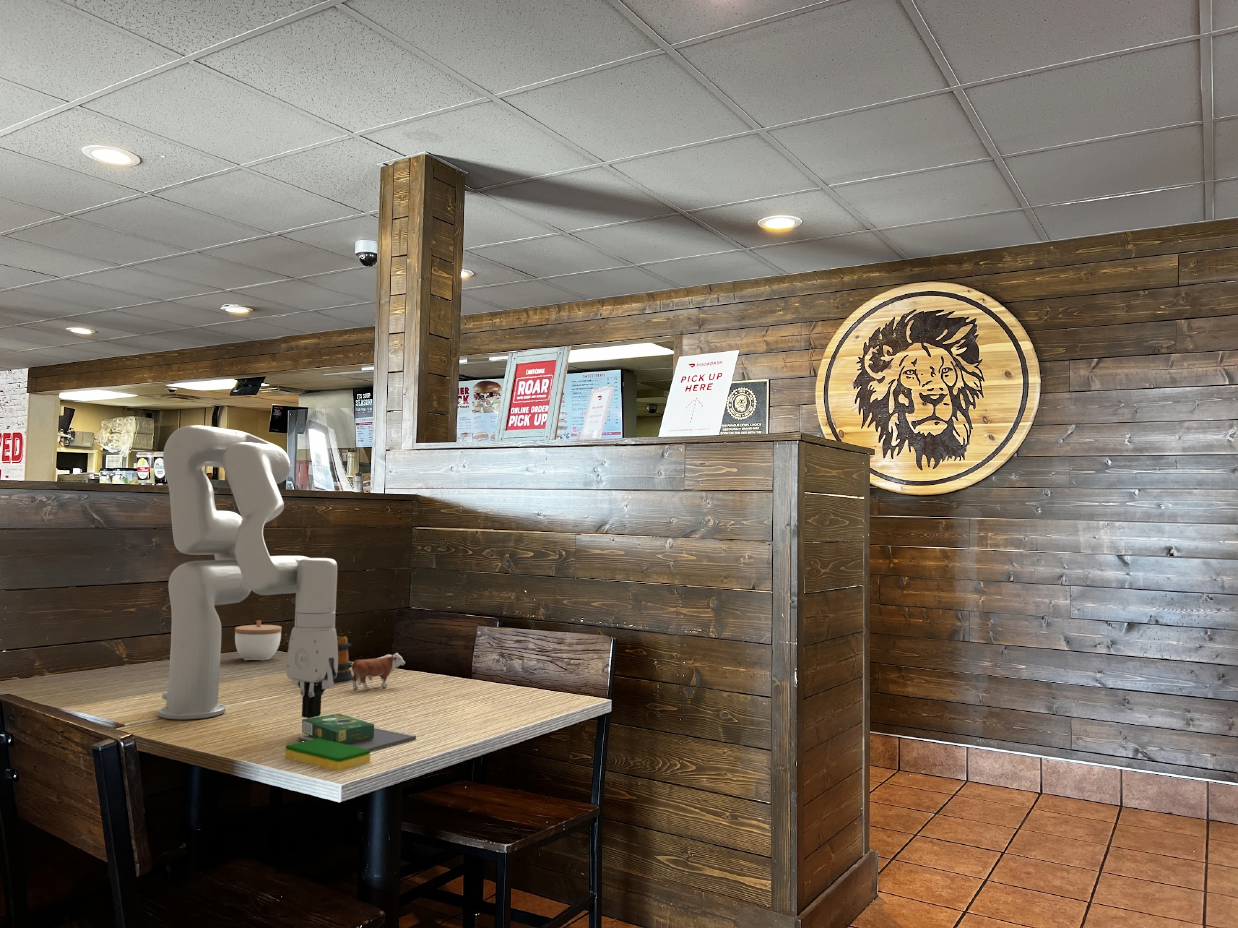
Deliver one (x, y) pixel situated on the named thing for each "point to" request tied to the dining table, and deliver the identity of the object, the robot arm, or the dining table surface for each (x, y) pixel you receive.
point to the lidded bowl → (257, 641)
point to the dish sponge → (328, 754)
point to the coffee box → (338, 728)
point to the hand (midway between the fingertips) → (311, 716)
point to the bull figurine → (375, 669)
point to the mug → (343, 661)
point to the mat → (377, 739)
